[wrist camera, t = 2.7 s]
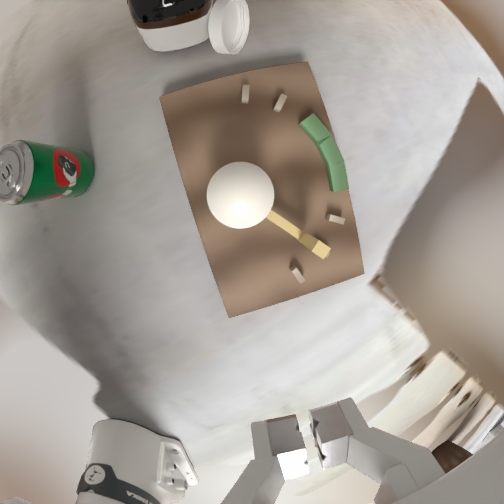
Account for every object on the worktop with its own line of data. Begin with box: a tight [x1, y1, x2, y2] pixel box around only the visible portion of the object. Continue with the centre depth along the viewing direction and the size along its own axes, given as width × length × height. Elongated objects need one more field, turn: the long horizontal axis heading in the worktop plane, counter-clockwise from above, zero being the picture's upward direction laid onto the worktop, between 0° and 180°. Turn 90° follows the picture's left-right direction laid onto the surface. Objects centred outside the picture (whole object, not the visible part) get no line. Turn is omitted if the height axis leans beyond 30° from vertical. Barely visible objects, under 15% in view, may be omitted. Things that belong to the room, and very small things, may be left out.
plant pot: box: [431, 441, 473, 474], centre depth 38 cm, size 15×15×16 cm
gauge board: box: [159, 62, 364, 318], centre depth 25 cm, size 23×15×3 cm, turn 16°
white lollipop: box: [207, 162, 331, 260], centre depth 22 cm, size 10×5×6 cm, turn 56°
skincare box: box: [483, 424, 504, 445], centre depth 45 cm, size 8×7×16 cm
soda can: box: [0, 140, 94, 205], centre depth 19 cm, size 5×5×12 cm
